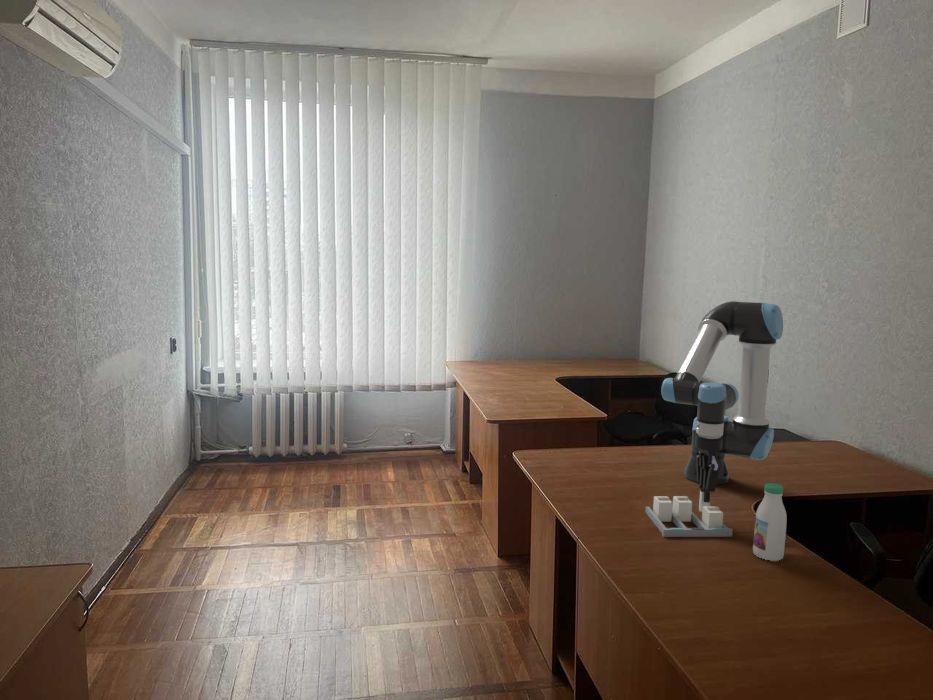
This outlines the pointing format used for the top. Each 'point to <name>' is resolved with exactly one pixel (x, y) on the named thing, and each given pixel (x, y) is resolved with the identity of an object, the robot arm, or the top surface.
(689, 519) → the white ridged block
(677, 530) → the switch board
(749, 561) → the top surface
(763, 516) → the milk bottle
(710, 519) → the white rectangular block
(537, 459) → the top surface
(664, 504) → the white block with handle
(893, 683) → the top surface
